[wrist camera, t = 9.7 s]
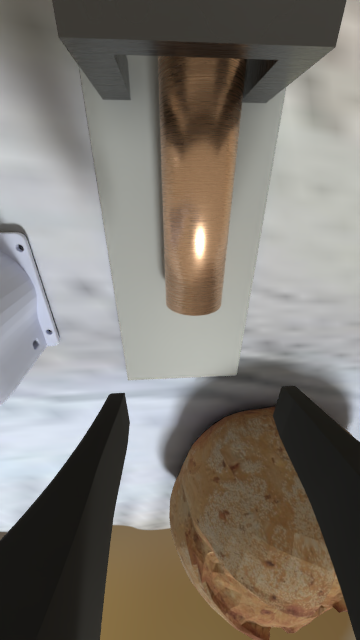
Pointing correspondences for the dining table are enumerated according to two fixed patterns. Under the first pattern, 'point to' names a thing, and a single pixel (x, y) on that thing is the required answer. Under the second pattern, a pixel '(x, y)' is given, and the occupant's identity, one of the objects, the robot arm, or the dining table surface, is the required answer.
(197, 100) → the copper tube
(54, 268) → the dining table surface
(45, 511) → the robot arm
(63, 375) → the dining table surface
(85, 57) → the dark gray arch
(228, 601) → the bread
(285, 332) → the dining table surface
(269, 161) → the pale gray board
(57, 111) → the dining table surface
